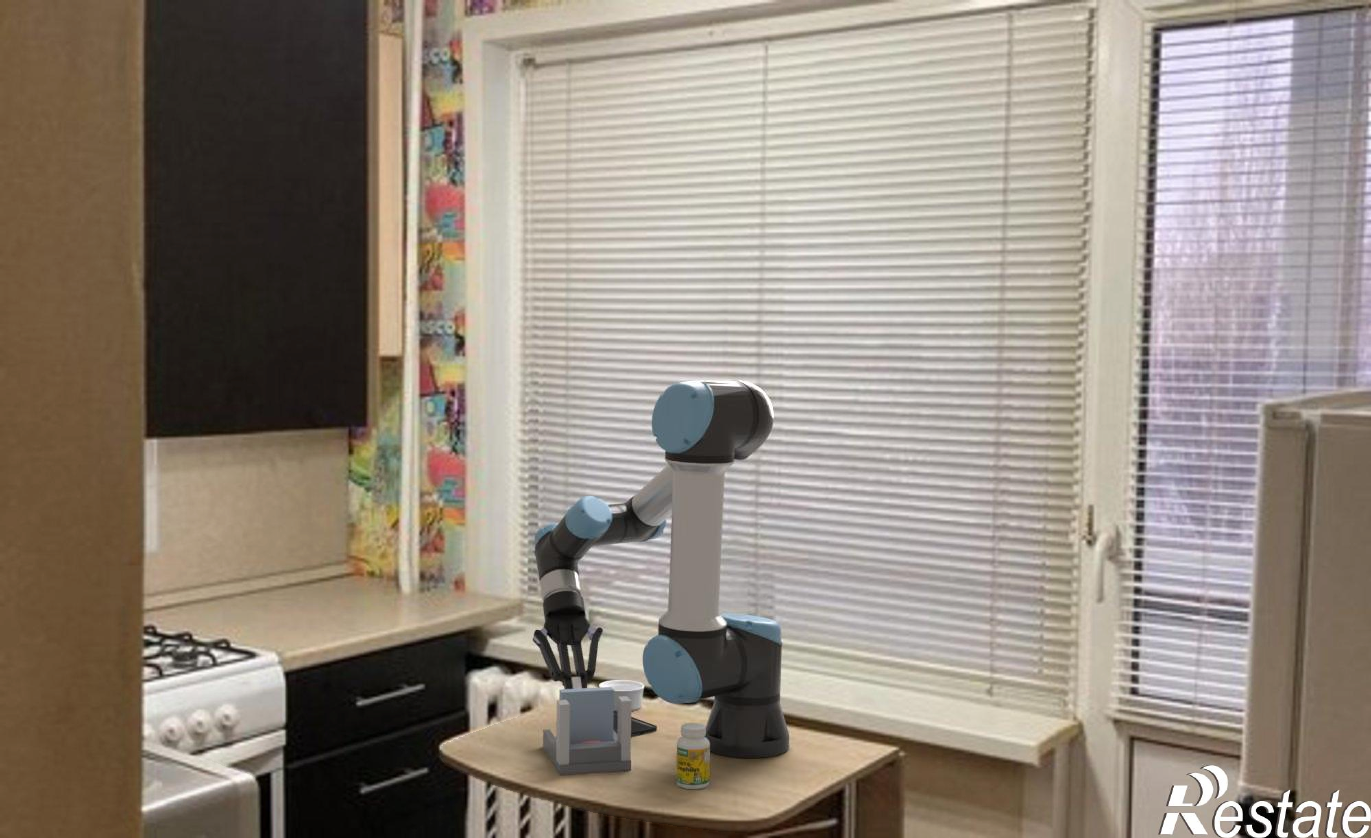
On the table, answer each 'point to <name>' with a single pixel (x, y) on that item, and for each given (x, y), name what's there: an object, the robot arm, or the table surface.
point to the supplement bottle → (693, 757)
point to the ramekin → (626, 692)
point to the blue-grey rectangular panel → (590, 713)
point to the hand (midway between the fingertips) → (579, 713)
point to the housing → (589, 745)
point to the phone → (635, 726)
